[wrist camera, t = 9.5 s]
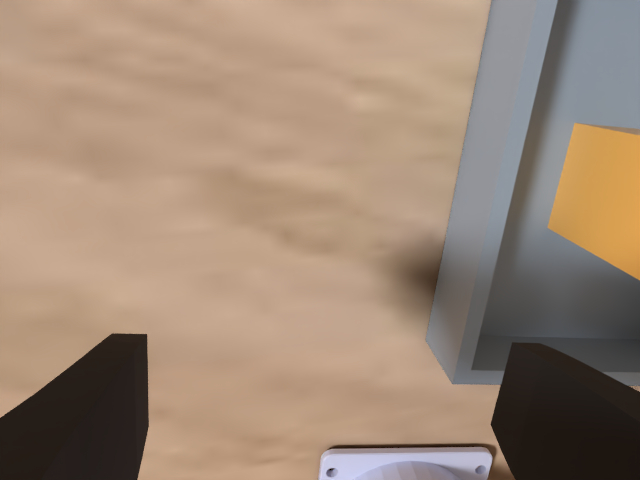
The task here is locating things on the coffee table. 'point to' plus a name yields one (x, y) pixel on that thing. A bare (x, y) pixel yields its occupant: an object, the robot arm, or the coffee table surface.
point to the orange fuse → (601, 194)
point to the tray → (537, 195)
